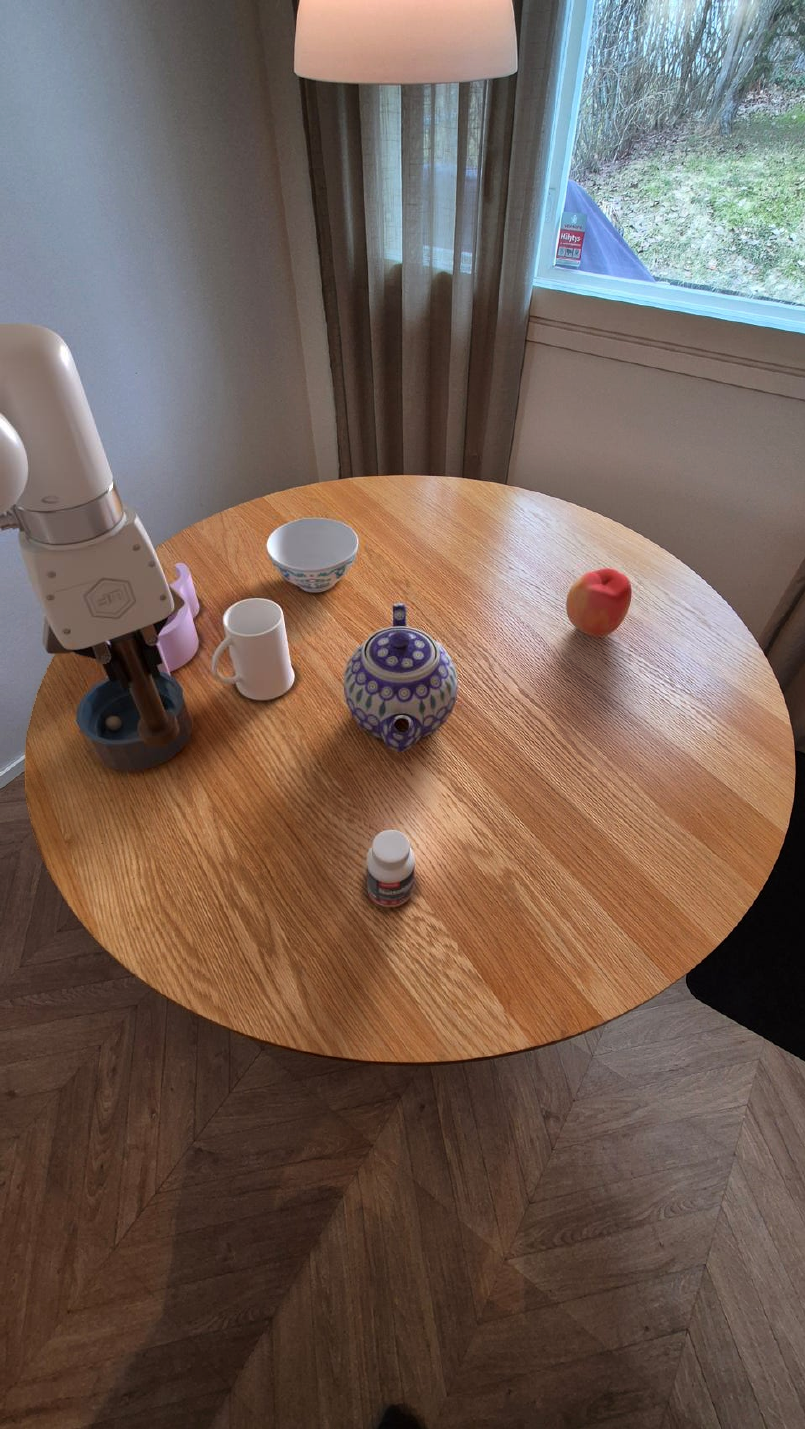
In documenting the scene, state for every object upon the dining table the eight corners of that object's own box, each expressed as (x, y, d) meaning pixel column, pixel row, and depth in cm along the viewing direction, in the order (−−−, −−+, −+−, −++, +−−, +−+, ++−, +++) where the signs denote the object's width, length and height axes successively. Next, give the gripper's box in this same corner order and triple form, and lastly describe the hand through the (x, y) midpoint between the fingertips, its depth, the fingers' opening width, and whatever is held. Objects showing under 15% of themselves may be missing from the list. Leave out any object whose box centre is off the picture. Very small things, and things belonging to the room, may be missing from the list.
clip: (142, 595, 111) (130, 560, 106) (216, 598, 111) (207, 563, 105) (101, 679, 97) (84, 644, 92) (184, 682, 97) (173, 647, 92)
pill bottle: (376, 915, 73) (375, 875, 67) (360, 875, 76) (357, 833, 70) (420, 898, 74) (423, 858, 68) (403, 860, 78) (404, 818, 71)
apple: (592, 603, 111) (606, 552, 103) (634, 635, 105) (652, 584, 98) (548, 623, 107) (560, 572, 100) (590, 657, 102) (605, 606, 94)
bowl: (111, 790, 84) (95, 761, 80) (78, 725, 91) (62, 694, 87) (209, 744, 89) (199, 714, 85) (171, 686, 97) (160, 655, 92)
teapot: (353, 653, 102) (348, 573, 91) (452, 656, 102) (460, 575, 90) (337, 786, 85) (329, 706, 74) (457, 790, 85) (466, 710, 74)
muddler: (148, 752, 70) (105, 653, 59) (136, 728, 72) (92, 629, 61) (185, 736, 71) (149, 637, 61) (171, 713, 73) (134, 614, 63)
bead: (111, 735, 89) (106, 725, 88) (106, 726, 90) (101, 716, 89) (125, 729, 90) (121, 719, 89) (120, 720, 91) (116, 710, 90)
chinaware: (294, 549, 120) (289, 511, 115) (372, 564, 117) (371, 526, 112) (257, 597, 111) (250, 558, 105) (340, 616, 108) (337, 577, 102)
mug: (235, 720, 92) (218, 657, 83) (205, 686, 97) (186, 623, 88) (305, 682, 97) (297, 619, 88) (274, 652, 102) (263, 589, 93)
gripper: (-32, 564, 46) (65, 734, 60) (186, 500, 53) (229, 667, 66) (-51, 516, 51) (43, 685, 64) (154, 461, 57) (200, 626, 70)
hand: (137, 675), depth 65 cm, fingers closed on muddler, 2 cm apart
